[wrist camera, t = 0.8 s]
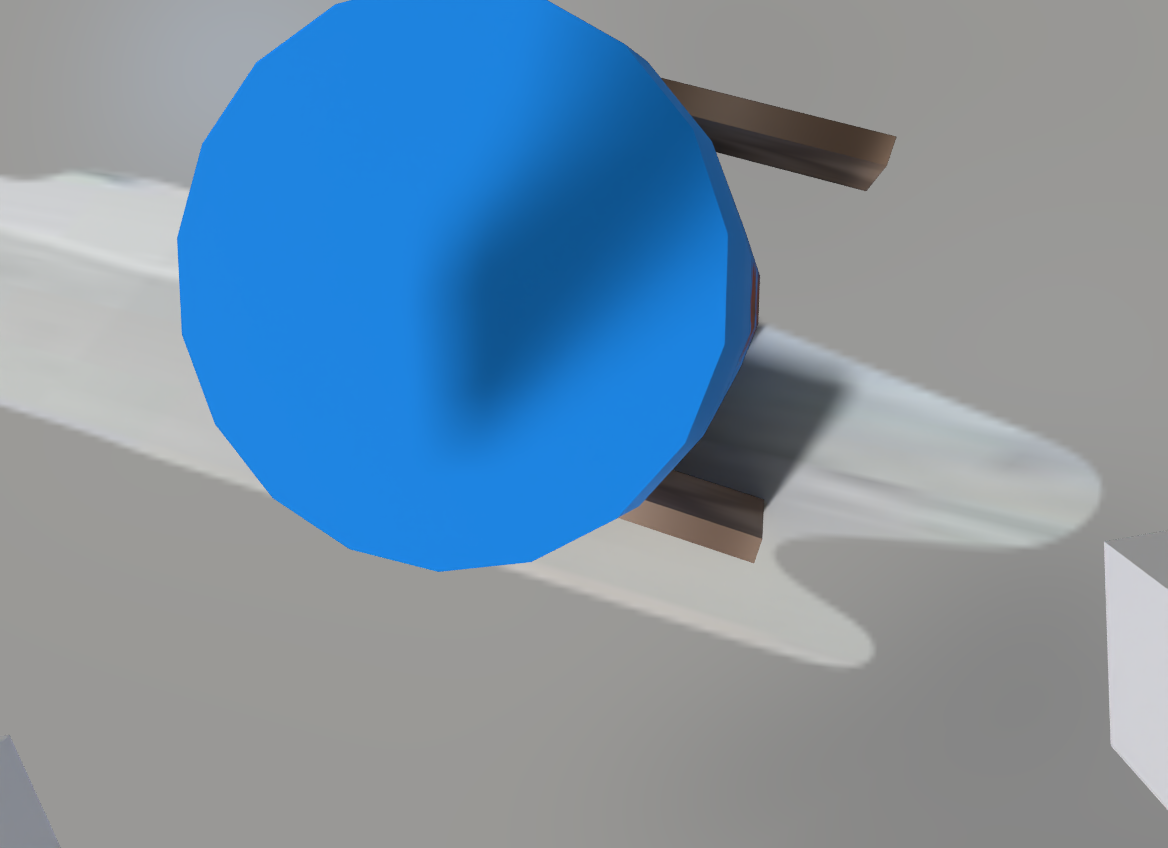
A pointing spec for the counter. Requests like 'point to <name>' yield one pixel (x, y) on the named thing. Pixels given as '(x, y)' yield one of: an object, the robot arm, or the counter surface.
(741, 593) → the counter surface
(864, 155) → the wooden frame
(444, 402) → the thermos
